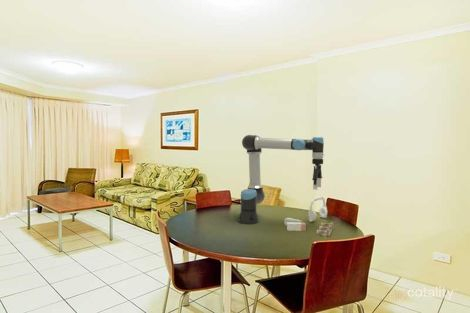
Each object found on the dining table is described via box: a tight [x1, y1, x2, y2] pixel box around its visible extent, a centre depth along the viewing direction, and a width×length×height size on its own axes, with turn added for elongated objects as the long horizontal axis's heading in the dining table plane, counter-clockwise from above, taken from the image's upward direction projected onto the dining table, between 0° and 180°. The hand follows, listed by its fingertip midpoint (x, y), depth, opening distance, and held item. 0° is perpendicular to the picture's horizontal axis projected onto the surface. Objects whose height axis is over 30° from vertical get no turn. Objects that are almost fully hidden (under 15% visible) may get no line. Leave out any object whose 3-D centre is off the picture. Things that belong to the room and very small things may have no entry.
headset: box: [307, 196, 328, 223], centre depth 221 cm, size 20×7×18 cm, turn 131°
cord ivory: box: [286, 221, 307, 232], centre depth 195 cm, size 12×4×4 cm, turn 85°
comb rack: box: [316, 221, 334, 238], centre depth 191 cm, size 8×21×5 cm, turn 155°
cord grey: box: [283, 217, 304, 226], centre depth 205 cm, size 12×4×4 cm, turn 45°
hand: (317, 188), depth 206 cm, fingers open, 13 cm apart
